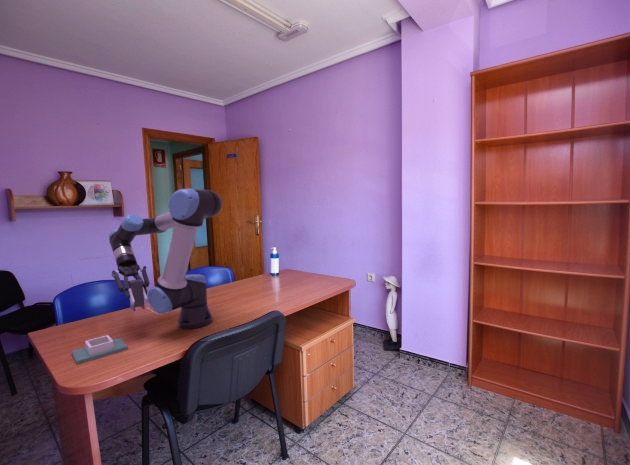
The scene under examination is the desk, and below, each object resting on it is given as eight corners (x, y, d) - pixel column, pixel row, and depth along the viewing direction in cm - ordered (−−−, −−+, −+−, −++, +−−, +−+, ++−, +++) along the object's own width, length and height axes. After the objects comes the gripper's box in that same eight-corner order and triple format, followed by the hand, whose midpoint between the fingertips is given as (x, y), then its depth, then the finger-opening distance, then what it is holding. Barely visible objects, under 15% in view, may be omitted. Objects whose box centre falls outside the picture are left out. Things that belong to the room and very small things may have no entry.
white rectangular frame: (158, 314, 162) (146, 307, 175) (158, 315, 162) (146, 308, 175) (179, 309, 170) (166, 302, 183) (179, 310, 170) (166, 303, 183)
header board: (119, 340, 131) (119, 330, 131) (127, 349, 123) (126, 338, 122) (72, 354, 120) (70, 343, 120) (76, 364, 112) (75, 353, 111)
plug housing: (141, 306, 136) (138, 279, 135) (144, 308, 133) (142, 280, 132) (130, 308, 134) (128, 280, 133) (134, 311, 130) (131, 282, 129)
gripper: (144, 261, 149) (159, 302, 138) (102, 267, 137) (114, 312, 126) (147, 250, 144) (163, 292, 134) (103, 255, 133) (116, 301, 122)
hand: (139, 301), depth 130 cm, fingers closed on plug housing, 4 cm apart
